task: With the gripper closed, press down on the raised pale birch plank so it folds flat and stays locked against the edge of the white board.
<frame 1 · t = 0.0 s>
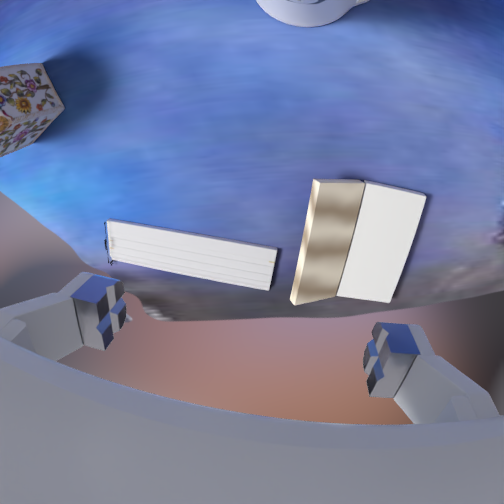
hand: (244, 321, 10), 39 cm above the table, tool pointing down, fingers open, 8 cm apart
white board: (378, 244, 50), on the table
decorative jar: (37, 103, 44), on the table
birch plank: (326, 244, 48), point 3 cm above the table, hinge at 30.0°
baseboard: (187, 254, 56), on the table
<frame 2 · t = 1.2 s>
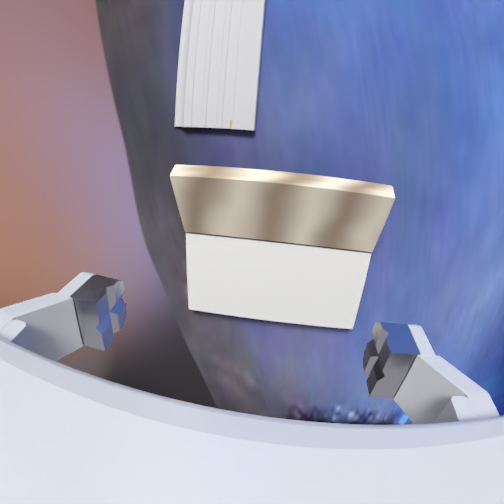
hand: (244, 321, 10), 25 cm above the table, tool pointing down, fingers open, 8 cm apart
white board: (275, 277, 37), on the table
birch plank: (280, 209, 31), point 3 cm above the table, hinge at 30.0°
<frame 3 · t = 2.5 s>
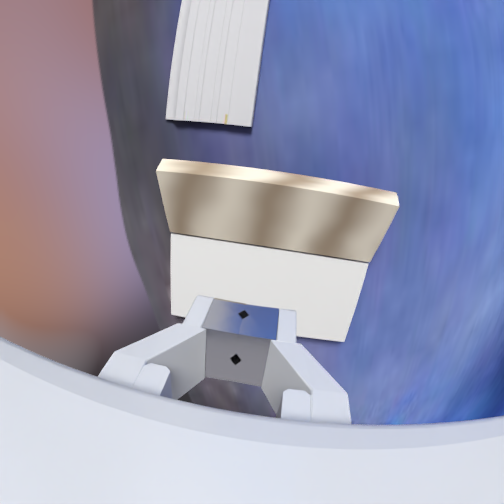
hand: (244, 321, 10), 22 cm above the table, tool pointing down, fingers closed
white board: (264, 284, 35), on the table
birch plank: (274, 212, 28), point 3 cm above the table, hinge at 30.0°
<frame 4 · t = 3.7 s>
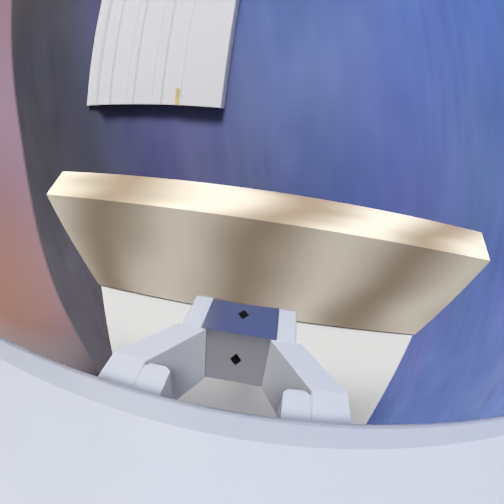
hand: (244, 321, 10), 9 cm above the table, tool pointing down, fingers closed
white board: (249, 359, 22), on the table
birch plank: (261, 264, 16), point 3 cm above the table, hinge at 30.0°
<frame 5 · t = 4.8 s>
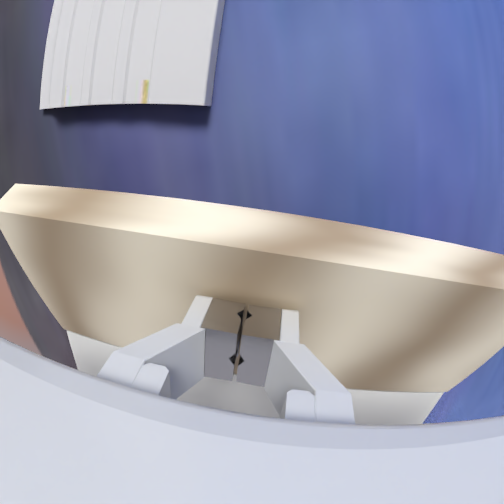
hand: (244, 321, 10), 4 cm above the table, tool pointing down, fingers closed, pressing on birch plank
white board: (246, 413, 18), on the table
birch plank: (261, 314, 11), point 3 cm above the table, hinge at 21.9°, touching gripper
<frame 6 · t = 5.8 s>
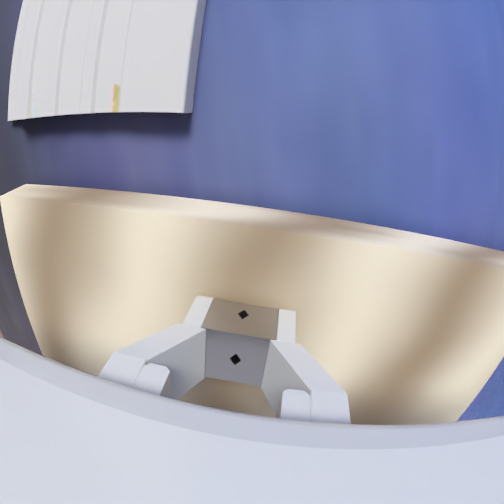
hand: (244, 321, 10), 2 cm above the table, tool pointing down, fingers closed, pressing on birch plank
birch plank: (256, 328, 11), point 1 cm above the table, hinge at 2.5°, touching gripper
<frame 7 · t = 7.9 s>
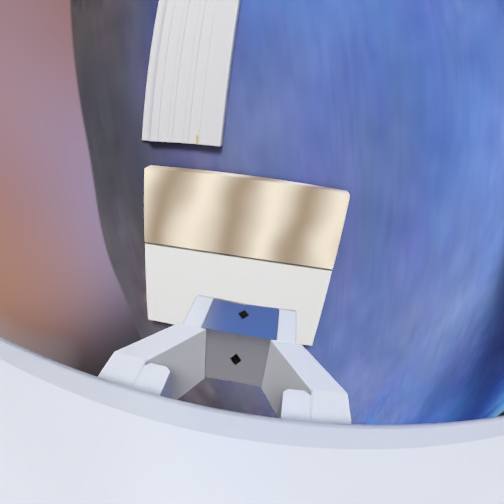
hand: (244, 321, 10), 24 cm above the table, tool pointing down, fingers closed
white board: (233, 291, 37), on the table
birch plank: (241, 216, 32), point 1 cm above the table, hinge at 2.5°
baseboard: (193, 6, 25), on the table
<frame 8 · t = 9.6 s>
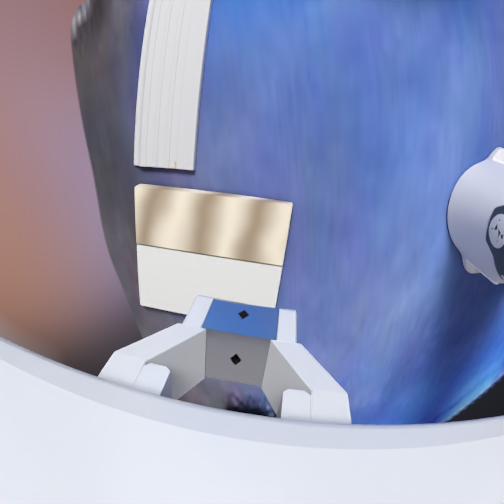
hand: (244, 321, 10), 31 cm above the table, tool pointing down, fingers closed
white board: (207, 283, 46), on the table
birch plank: (208, 223, 41), point 1 cm above the table, hinge at 2.5°
baseboard: (169, 53, 34), on the table
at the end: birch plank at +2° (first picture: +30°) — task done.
